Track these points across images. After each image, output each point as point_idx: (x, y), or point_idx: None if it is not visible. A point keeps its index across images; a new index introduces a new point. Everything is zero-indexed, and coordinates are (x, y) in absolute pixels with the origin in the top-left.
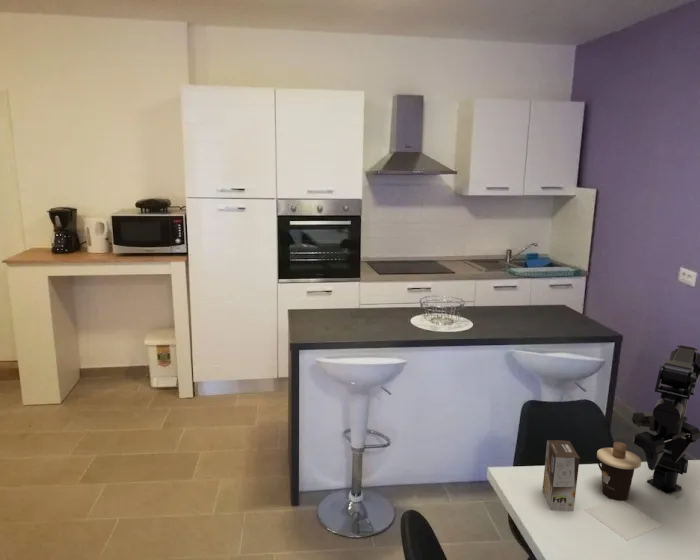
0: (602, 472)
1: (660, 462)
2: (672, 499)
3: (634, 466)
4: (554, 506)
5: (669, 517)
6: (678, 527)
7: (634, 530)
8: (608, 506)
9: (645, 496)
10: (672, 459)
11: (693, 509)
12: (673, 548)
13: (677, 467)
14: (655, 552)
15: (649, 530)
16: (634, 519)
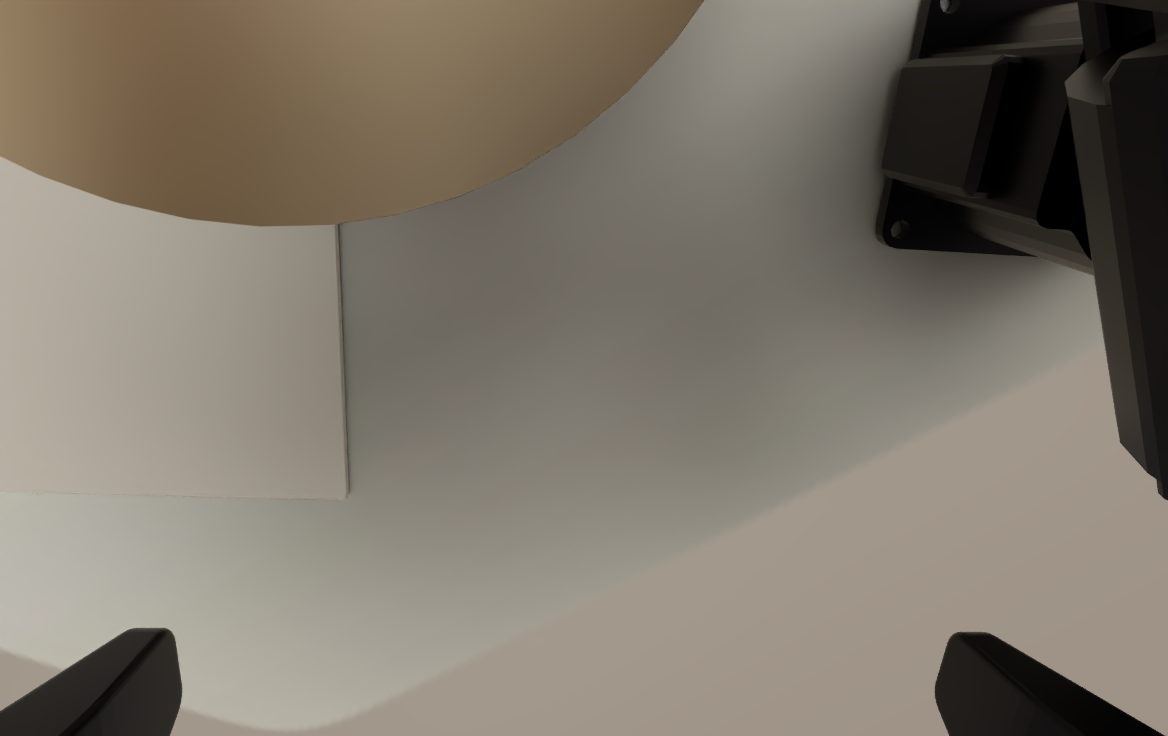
0: None
1: (1082, 194)
2: (836, 307)
3: (180, 215)
4: None
5: (539, 447)
6: (479, 549)
7: (39, 437)
8: None
9: (656, 145)
10: (970, 670)
11: (834, 472)
12: (205, 663)
13: (1118, 425)
14: (22, 638)
15: (177, 494)
16: (171, 344)
